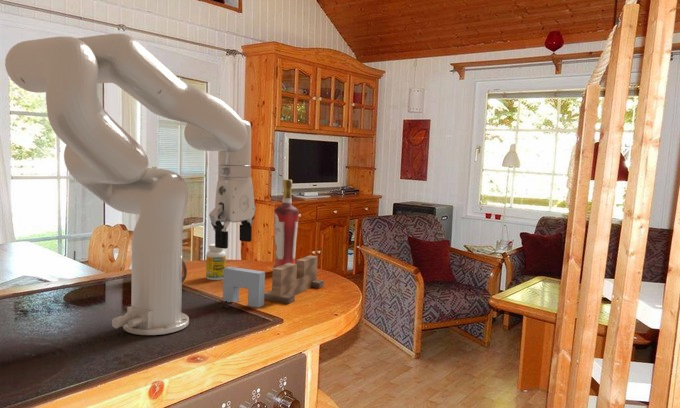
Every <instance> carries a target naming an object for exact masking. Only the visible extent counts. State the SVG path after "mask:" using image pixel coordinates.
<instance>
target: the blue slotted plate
mask: <svg viewBox="0 0 680 408" xmlns="http://www.w3.org/2000/svg"><path fill="white" fill-rule="evenodd" d="M222 280H223V281H222V302H225V301H227V302H226V303H230V302H234V303H236V302H239V299H240V298H239V297H240V288H241V289H246V290H248V292H247V296H248V298H247V306H248V307H252V308H261V307H263V306H265V300H264V293H265V289H266V288H265V287H266V286H265V285H266V283H265V282H266V272H265V271H264V270H255V269H249V268H241V267H235V266H226V268H224V272H223V279H222Z"/></svg>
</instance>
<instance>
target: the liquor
mask: <svg viewBox="0 0 680 408" xmlns="http://www.w3.org/2000/svg"><path fill="white" fill-rule="evenodd" d="M282 180H283V181H282V188H283V193H282V202H281V205H279V206H277V207H275V209H274V265H273V268H276V267H279V266H282V265H284V264H287V263H293V264H296V249H297V248H296V247H297V236H298V228H299V216H300V215H299V213H300V210H299V209H298V208H297V207H296V206H294V205H293V204H292V199H293V198H292V188H293V180H292V179H284V178H283V179H282Z"/></svg>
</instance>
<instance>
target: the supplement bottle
mask: <svg viewBox="0 0 680 408" xmlns="http://www.w3.org/2000/svg"><path fill="white" fill-rule="evenodd" d="M208 250H209V251H207V252H206V258H205V260H206V262H205V269H206V270H205V278H206V280H210V281H221V280H223V272H224V268H226V267H227V266H226V263H227V261H226V260H227V258H226V257H227V255H226V252H225V251H224V249H223V248H216V247H215V243H209V244H208Z"/></svg>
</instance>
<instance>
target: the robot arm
mask: <svg viewBox="0 0 680 408" xmlns="http://www.w3.org/2000/svg"><path fill="white" fill-rule="evenodd" d="M4 60H5V63H4V66H5V70H6V73H7V75H8V77H9V78H10V80H11V81H12V82H13V83H14V84H15V85H16V86H18V87H19V88H21V89H22V90H25V91H26V92H29V93H35V94H36V93H37V94H38V93H40V94H41V93H45V105H46V112H47V118H48V123H49V125H50V127H51V129H52V130H53V133H54V134H55V135H56V137H57V138H58V139H60V141H62V142H63V143H64V144H65V147H64V151H63V161H64V163H65V164H64V165H65V167H66V169H67V171H68V172H69V174H70V175H71V176H72V178H73V179H75V180H76V182H78V183H79V184H81V186H83V187H84V188H86V189H87V190H88V191H89V192H91V193H92V194H93V195H95V196H96V197H97V198H98V199H100V200H101V201H102V202H103V203H105V204H106V205H108V206H109V207H110V208H113V209H114V210H116V211H118V212H121V213H124V214H126V213H127V214H132V215H138V220H137V221H136V224H135V226H134V229H133V232H132V235H131V236H132V237H131V296H130V297H131V299H130V300H131V305H130V306H127V310H126V311H127V312H125V313H124V315H120V316H117V317H114V318H113V319H112V320H111V326H112V327H113V328H114V329H119V328H121V327H122V328H123V330H124V331H125V332H127V333H130V334H133V335H139V336H157V335H168V334H171V333H176V332H179V331H181V330H183V329H185V328H187V326H188V325H189V323H190V317H189V316H188V314H186V313H184V312H182V293H183V292H182V286H183V285H182V284H183V283H182V260H183V235H184V234H183V233H184V232H183V230H184V221H185V215H186V210H187V207H188V201H189V188H188V185H187V182H186V181H185V179H184V178H183V177H182V176H181V175H180V174H179V173H176V172H175V171H172V170H170V169H164V168H155V167H154V168H153V167H152V168H151V167H149V159H148V155H147V153H146V151H145V149H144V148H143V146H141V144H140V143H138V142H137V140H136V139H134V138H133V136H131V134H129V133H128V132H127V131H126V130H125V129H124V128H123V127H122V126H121V125H119V124H118V122H117V121H115V120H114V119H113V118H112V117H111V116H110V115H109V113H108V112H107V111H106V110H105V108H104V107H103V106H102V104H101V102H100V99H99V94H98V93H99V92H98V84H109V83H110V84H114V85H116V86H118V87H119V88H120V89H121V90H123V91H124V92H125V93H127V94H128V95H129V96H131V97H132V98H133V99H135V100H136V101H137V102H138V103H140V104H141V105H142V107H143V106H144V107H145V108H146V109H147V110H148V111H150V112H151V113H153V114H155V115H157V116H160V117H162V118H166V119H167V120H173V121H176V122H181V123H185V124H186V125H185V126H184V132H183V135H184V136H183V137H184V139H185V141H186V143H187V144H188V145H189V146H190V147H192V148H193V149H195V150H198V151H203V152H204V151H205V152H217V154H218V157H217V161H218V163H217V169H218V170H217V173H218V174H217V182H216V190H215V202H214V208H213V209H212V210H211V211H210V213H208V214H209V215H208V216H209V219H210V222H211V223H210V224H211V226H212V229H213V231H214V244H215V247H216V248H223V250H224V249H225V250H226V249H228V247H229V231H228V227H229V225H230V223H238V222H240V224H239V241H241V242H246V243H247V242H249V243H250V242H252V239H253V238H252V232H253V231H252V229H253V225H254V219H255V217H256V215H255V213H256V211H257V206H256V205H255V196H254V195H255V193H254V184H253V180H252V175H251V172H252V165H251V164H252V161H251V160H252V125H251V122H250V121H247V120H244V119H242V117H240V115H238V113H236V111H235V110H234V109H232V107H230V106H229V105H228V104H227V103H225V102H224V101H223V100H221V99H219V98H218V97H216V96H214V95H212V94H210V93H208V92H206V91H204V90H202V89H201V88H199V87H197V86H194V85H192V84H190V83H187V82H185V81H184V80H181V79H180V78H179V77H178V76H177V75H175V73H173V71H171V70H170V69H169V68H168V67H167V66H165V64H163V62H161V60H159V59H158V58H157V57H156V56H154V54H153V53H151V52H150V51H149V50H148V49H147V48H145V46H144V45H142V44H141V43H140V42H139V41H138V40H137V39H135V38H134V37H133V36H130V35H128V34H125V33H124V34H123V33H109V34H108V33H107V34H106V33H105V34H99V35H91V36H84V37H83V36H82V37H73V36H52V37H46V38H45V37H44V38H38V39H37V38H36V39H30V40H29V39H27V40H25V41H21V42H18V43H16V44H14V45H13V46H12V47H11V48H10V49H9V50H8V52H7V54H6V57H5V59H4ZM222 223H223V224H222Z"/></svg>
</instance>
